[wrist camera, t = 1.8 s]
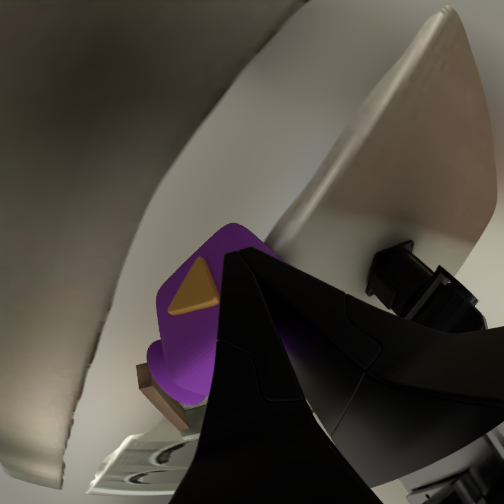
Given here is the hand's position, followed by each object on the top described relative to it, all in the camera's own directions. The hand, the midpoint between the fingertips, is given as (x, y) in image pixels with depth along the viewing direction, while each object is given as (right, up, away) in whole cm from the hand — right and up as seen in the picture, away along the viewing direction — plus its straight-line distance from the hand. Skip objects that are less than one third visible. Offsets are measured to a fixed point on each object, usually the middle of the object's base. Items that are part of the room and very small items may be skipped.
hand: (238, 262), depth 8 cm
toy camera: (-3, -3, +16) cm, 17 cm away
